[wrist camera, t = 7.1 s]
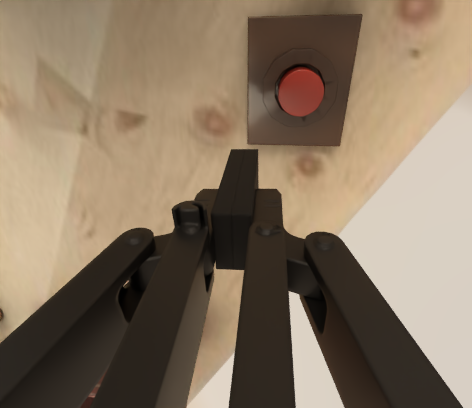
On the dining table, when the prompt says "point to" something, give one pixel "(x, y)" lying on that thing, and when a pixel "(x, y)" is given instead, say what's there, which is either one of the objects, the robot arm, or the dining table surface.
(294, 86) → the lamp switch
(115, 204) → the dining table surface
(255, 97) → the switch box
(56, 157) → the dining table surface
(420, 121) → the dining table surface
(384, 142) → the dining table surface
